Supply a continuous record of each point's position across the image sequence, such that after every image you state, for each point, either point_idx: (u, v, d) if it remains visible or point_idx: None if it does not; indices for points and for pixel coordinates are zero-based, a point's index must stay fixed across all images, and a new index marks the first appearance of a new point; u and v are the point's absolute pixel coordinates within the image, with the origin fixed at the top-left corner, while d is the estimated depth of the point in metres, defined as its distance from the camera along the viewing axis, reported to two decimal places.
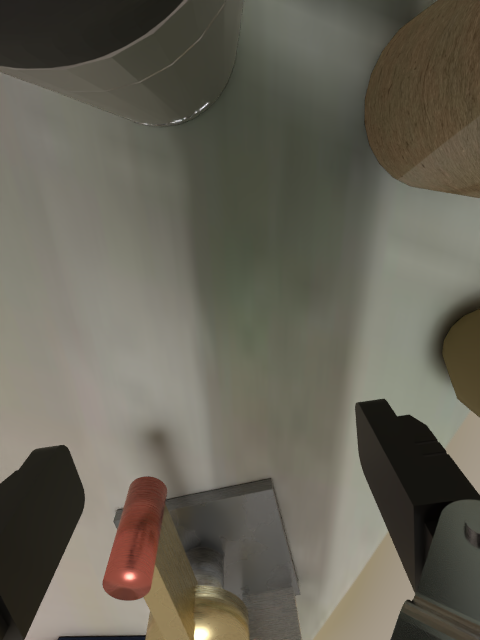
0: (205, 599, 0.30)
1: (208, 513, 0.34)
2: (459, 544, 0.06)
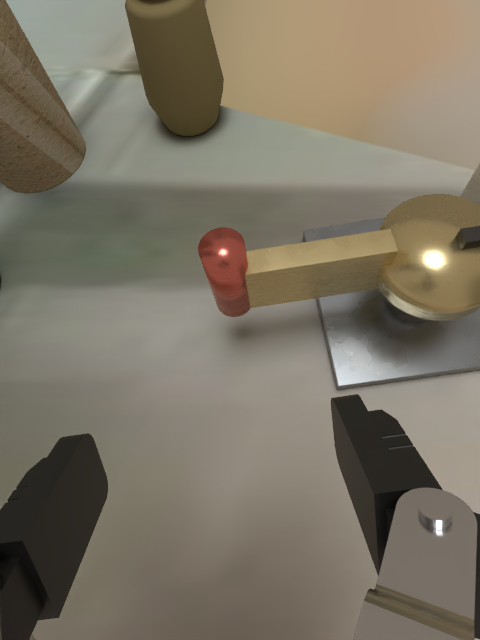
0: None
1: None
2: (414, 531, 0.06)
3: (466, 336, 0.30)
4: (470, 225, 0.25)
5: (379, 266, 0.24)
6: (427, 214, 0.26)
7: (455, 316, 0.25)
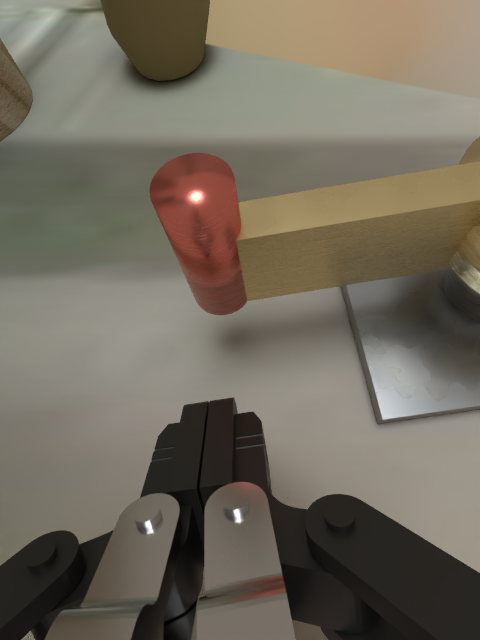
0: None
1: None
2: (224, 527, 0.07)
3: None
4: None
5: (464, 227, 0.14)
6: None
7: None
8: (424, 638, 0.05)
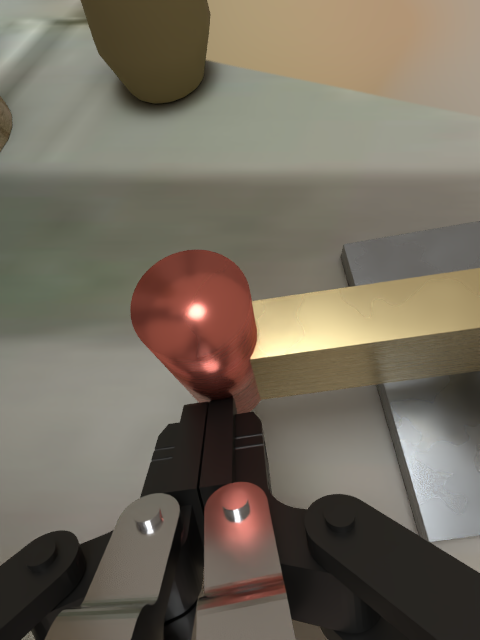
0: None
1: None
2: (223, 527, 0.07)
3: None
4: None
5: None
6: None
7: None
8: (424, 638, 0.05)
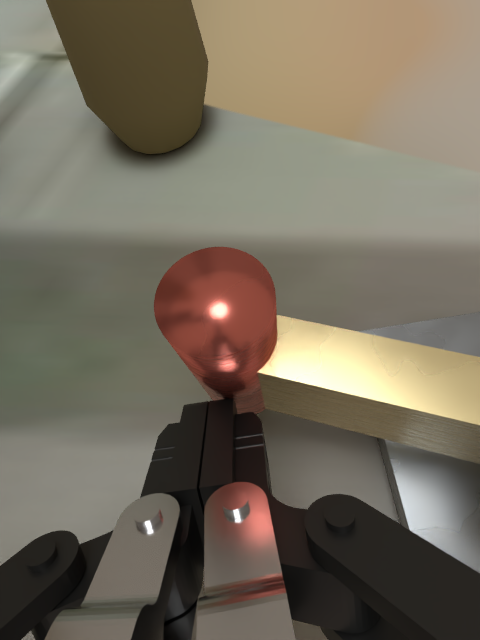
0: None
1: (420, 455, 0.17)
2: (223, 527, 0.07)
3: None
4: None
5: None
6: None
7: None
8: (424, 638, 0.05)
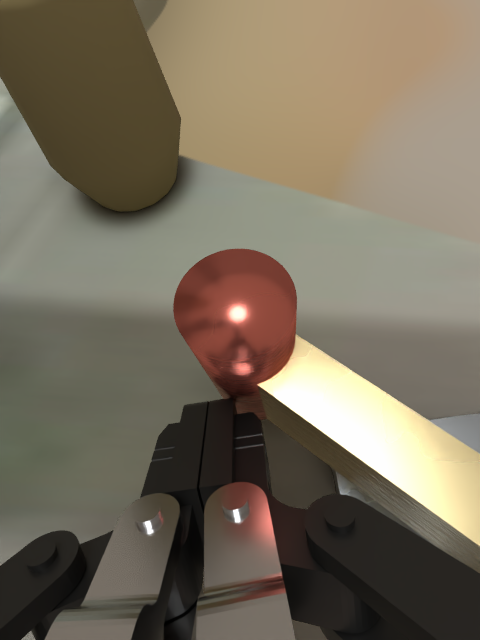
0: None
1: None
2: (224, 527, 0.07)
3: None
4: None
5: None
6: None
7: None
8: (424, 638, 0.05)
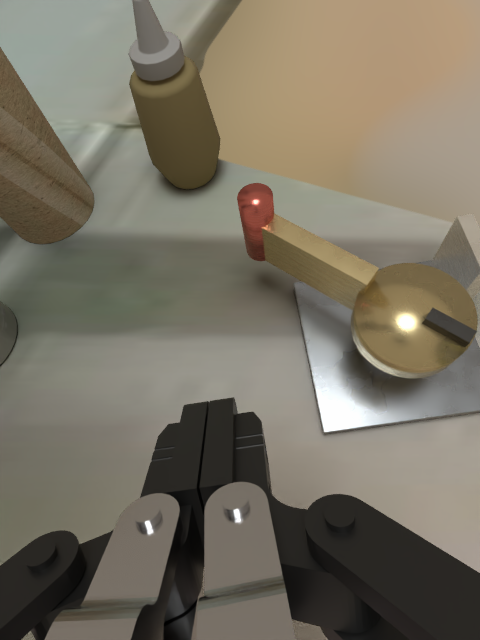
0: None
1: (319, 337, 0.35)
2: (224, 527, 0.07)
3: (440, 386, 0.32)
4: (449, 314, 0.27)
5: (354, 289, 0.29)
6: (427, 284, 0.28)
7: (379, 366, 0.28)
8: (424, 638, 0.05)
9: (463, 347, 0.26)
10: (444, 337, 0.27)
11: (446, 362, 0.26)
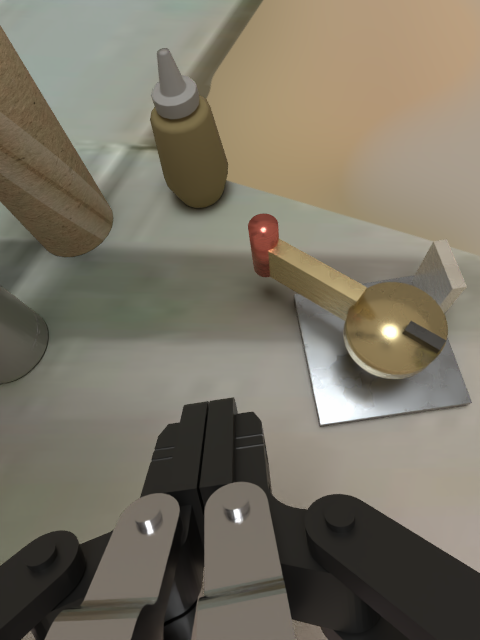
0: None
1: (316, 342, 0.41)
2: (224, 527, 0.07)
3: (419, 385, 0.38)
4: (424, 326, 0.33)
5: (346, 304, 0.34)
6: (407, 300, 0.34)
7: (367, 369, 0.34)
8: (424, 638, 0.05)
9: (435, 353, 0.32)
10: (420, 345, 0.32)
11: (421, 366, 0.31)
